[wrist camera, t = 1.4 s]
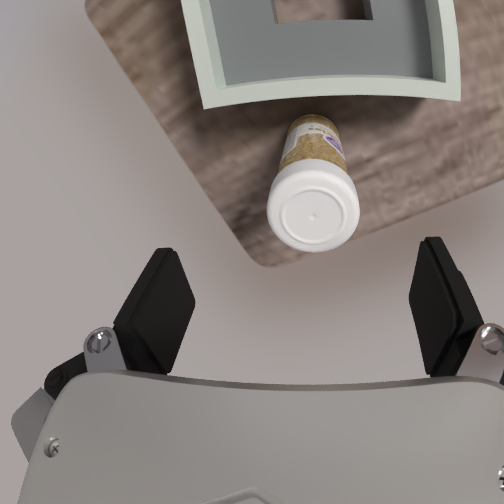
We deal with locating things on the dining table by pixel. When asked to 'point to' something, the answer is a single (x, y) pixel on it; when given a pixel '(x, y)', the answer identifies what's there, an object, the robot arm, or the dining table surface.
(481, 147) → the dining table surface
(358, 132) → the dining table surface
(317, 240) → the sprinkles bottle
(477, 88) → the dining table surface
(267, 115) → the dining table surface
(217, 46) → the open box
